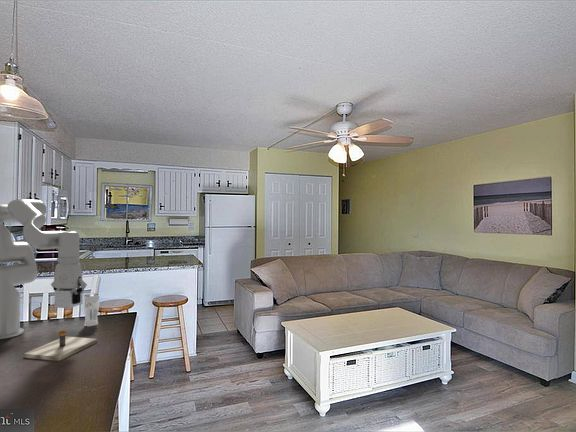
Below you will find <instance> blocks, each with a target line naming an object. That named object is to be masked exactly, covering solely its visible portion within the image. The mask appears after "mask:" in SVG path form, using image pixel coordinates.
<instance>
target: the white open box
mask: <svg viewBox="0 0 576 432" xmlns="http://www.w3.org/2000/svg"><path fill="white" fill-rule="evenodd" d="M76 289H77V288H76ZM77 290H78V289H77ZM83 292H84V290H83V291H82V293H80V303H77V304H74V303H73V295H74V294H75V293H74V290H73V289H60V290H54V308H55V309H56V308H57V309H58V308H59V309H60V308H61V309H71V308H75V307H77V306H81V305H83V302H84V294H83Z"/></svg>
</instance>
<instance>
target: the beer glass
mask: <svg viewBox="0 0 576 432" xmlns="http://www.w3.org/2000/svg"><path fill="white" fill-rule="evenodd" d="M82 306H83V313H84V319H85V320H84V324H83V325H84V327H85V326H87V328H91V327H95V326H98V325H99V321H98V320H99V319H98V315H99V309H100V294H99V293H87V294H83V304H82Z"/></svg>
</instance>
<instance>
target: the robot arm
mask: <svg viewBox="0 0 576 432" xmlns="http://www.w3.org/2000/svg"><path fill="white" fill-rule="evenodd" d="M47 211H48V208H47V205H46V204H45V202H43V201H42V200H39V199H29V198H28V199H26V198H18V199H12V200H11V201H10V202H8V204H7V203H0V264H10V263H17V264H10V265H2V266H0V340H4V339H5V340H6V339H10V338H14V337H18V336H21V335H23V334H24V332H25V329H24V328H22V327H21V294H20V292H19V290H18V289H17V288H16V287H15V286H18V285H19V286H20V285H24V284H25V285H26V284H29V283H32V282H34V281H35V280H36V279H37V277H38V269H37V263H36V262H37V261H36V258H35V254H34V249H33V248H35V249H37V250H41V251H42V250H51V249H58V250H57V254H58V255H57V258H56V261H57V264H56V265H55V269H54V273H53V274H54V275H53V281H52V282H51V283H50V285H51V287H52V289H53V291H55V290H60V289H73V290H74V293H75V294H74V295H73V303H74V304H77V303H80V293H82V291H83V292H84V290H85V288H86V287H87V286H88V284H87V283H86V282H85V281H84V280H83V271H82V266H81V265H82V264H81V263H80V234H79V232H78V231H66V230H45V231H44V230H43V231H42V230H40V229H41V228H42V227H43V226H45V224H46V222H47V218H46V213H47ZM4 223H20V224H21V225H22V226H23V228H22V234H23V238H24V239H25V241H14V240H13V238H12V232H11V231H10V229H8V228H7V226H6V225H4ZM76 288H77V289H78V290H77V289H76Z"/></svg>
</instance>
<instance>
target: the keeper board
mask: <svg viewBox="0 0 576 432" xmlns="http://www.w3.org/2000/svg"><path fill="white" fill-rule="evenodd" d="M66 334H67V330H65V329H61V330H59V331H58V336H59V338H58V339H55V340H52V341H50V342H48V343H46V344H44V345H42V346H39V347H36V348H33V349H32V350H29V351H27V352H25V353H23V358H24V359H25V358H26V359H35V360H36V359H37V360H46V361H55V362H60V361H62V360H64V359H66V358H69V357H70V356H72V355H75V354H76V353H78V352H80V351H83V350H84V349H86V348H89V347H91V346H92V345H95V344H97V342H98V338H91V337H90V338H89V337H88V338H87V337H79V336H78V337H77V336H67V335H66Z"/></svg>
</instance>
